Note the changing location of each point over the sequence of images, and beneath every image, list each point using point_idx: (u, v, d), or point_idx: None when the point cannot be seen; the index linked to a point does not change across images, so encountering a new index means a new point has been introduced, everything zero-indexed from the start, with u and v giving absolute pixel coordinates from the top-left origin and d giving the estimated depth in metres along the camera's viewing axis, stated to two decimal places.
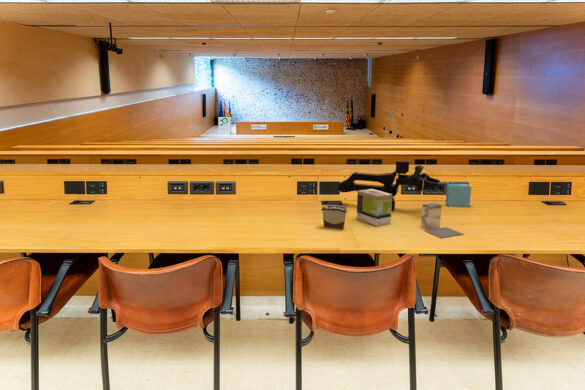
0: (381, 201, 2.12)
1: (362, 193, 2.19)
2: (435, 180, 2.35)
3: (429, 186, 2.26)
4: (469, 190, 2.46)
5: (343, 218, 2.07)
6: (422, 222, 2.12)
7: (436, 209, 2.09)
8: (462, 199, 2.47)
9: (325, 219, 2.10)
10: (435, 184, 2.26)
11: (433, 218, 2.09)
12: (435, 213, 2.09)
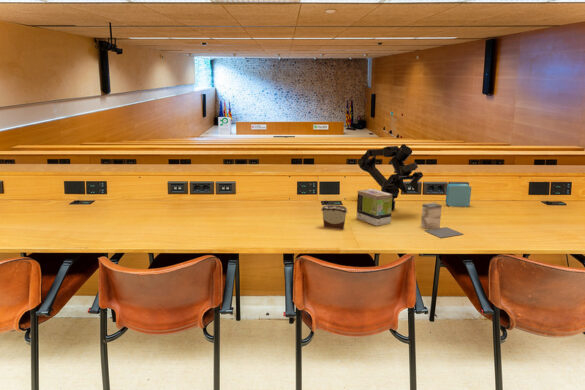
0: (381, 201, 2.12)
1: (362, 193, 2.19)
2: (415, 187, 2.25)
3: (400, 186, 2.24)
4: (469, 190, 2.46)
5: (343, 218, 2.07)
6: (422, 222, 2.12)
7: (436, 209, 2.09)
8: (462, 199, 2.47)
9: (325, 219, 2.10)
10: (404, 190, 2.22)
11: (433, 218, 2.09)
12: (435, 213, 2.09)
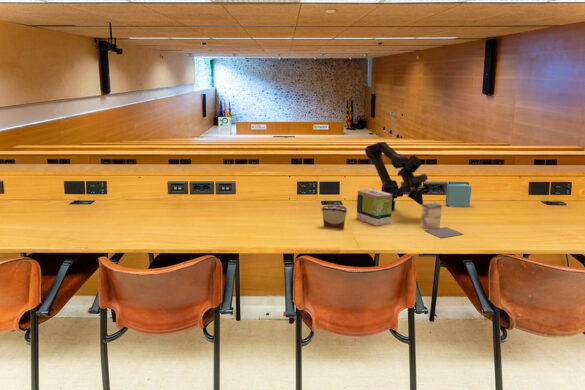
0: (381, 201, 2.12)
1: (362, 193, 2.19)
2: None
3: (414, 198, 2.19)
4: (469, 190, 2.46)
5: (343, 218, 2.07)
6: (422, 222, 2.12)
7: (436, 209, 2.09)
8: (462, 199, 2.47)
9: (325, 219, 2.10)
10: (419, 201, 2.17)
11: (433, 218, 2.09)
12: (435, 213, 2.09)
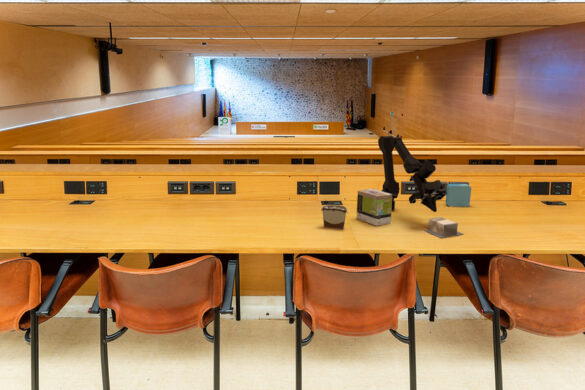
0: (381, 201, 2.12)
1: (362, 193, 2.19)
2: None
3: (428, 205, 2.11)
4: (469, 190, 2.46)
5: (343, 218, 2.07)
6: (431, 221, 2.06)
7: None
8: (462, 199, 2.47)
9: (325, 219, 2.10)
10: (433, 209, 2.09)
11: None
12: None
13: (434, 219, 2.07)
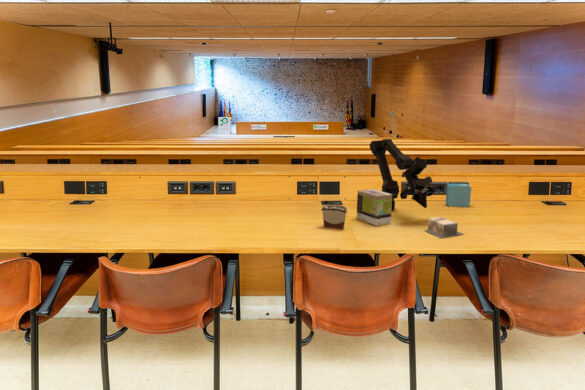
0: (381, 201, 2.12)
1: (362, 193, 2.19)
2: None
3: (418, 201, 2.16)
4: (469, 190, 2.46)
5: (343, 218, 2.07)
6: (431, 221, 2.06)
7: None
8: (462, 199, 2.47)
9: (325, 219, 2.10)
10: (423, 204, 2.14)
11: None
12: None
13: (434, 219, 2.07)
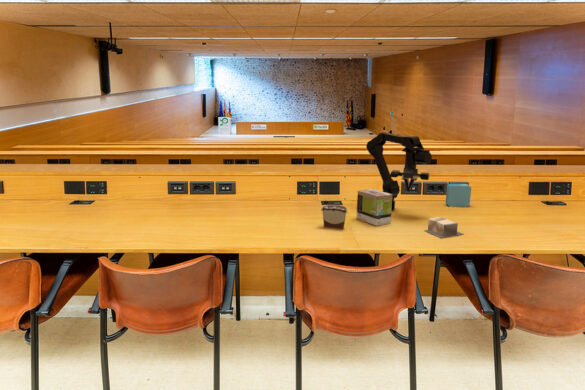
0: (381, 201, 2.12)
1: (362, 193, 2.19)
2: None
3: None
4: (469, 190, 2.46)
5: (343, 218, 2.07)
6: (431, 221, 2.06)
7: None
8: (462, 199, 2.47)
9: (325, 219, 2.10)
10: (407, 188, 2.30)
11: None
12: None
13: (434, 219, 2.07)
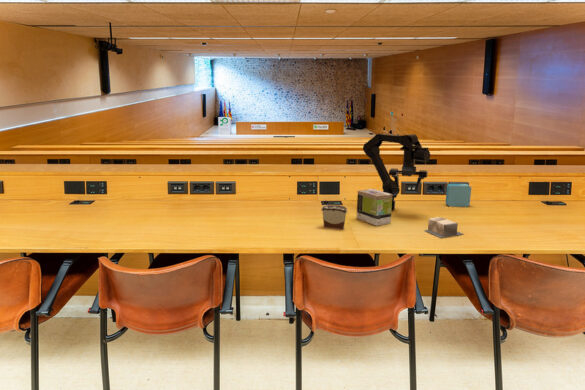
0: (381, 201, 2.12)
1: (362, 193, 2.19)
2: (416, 186, 2.29)
3: None
4: (469, 190, 2.46)
5: (343, 218, 2.07)
6: (431, 221, 2.06)
7: None
8: (462, 199, 2.47)
9: (325, 219, 2.10)
10: (397, 185, 2.33)
11: None
12: None
13: (434, 219, 2.07)
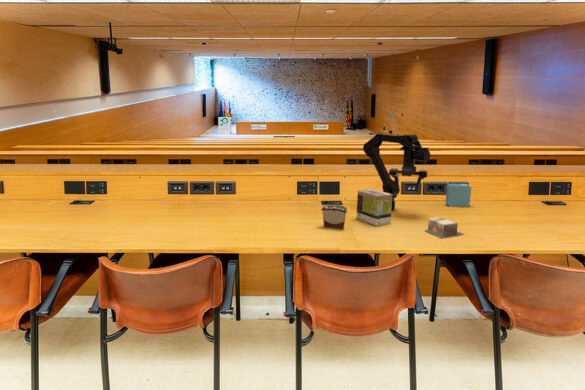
0: (381, 201, 2.12)
1: (362, 193, 2.19)
2: (416, 186, 2.29)
3: None
4: (469, 190, 2.46)
5: (343, 218, 2.07)
6: (431, 221, 2.06)
7: None
8: (462, 199, 2.47)
9: (325, 219, 2.10)
10: (397, 185, 2.33)
11: None
12: None
13: (434, 219, 2.07)
